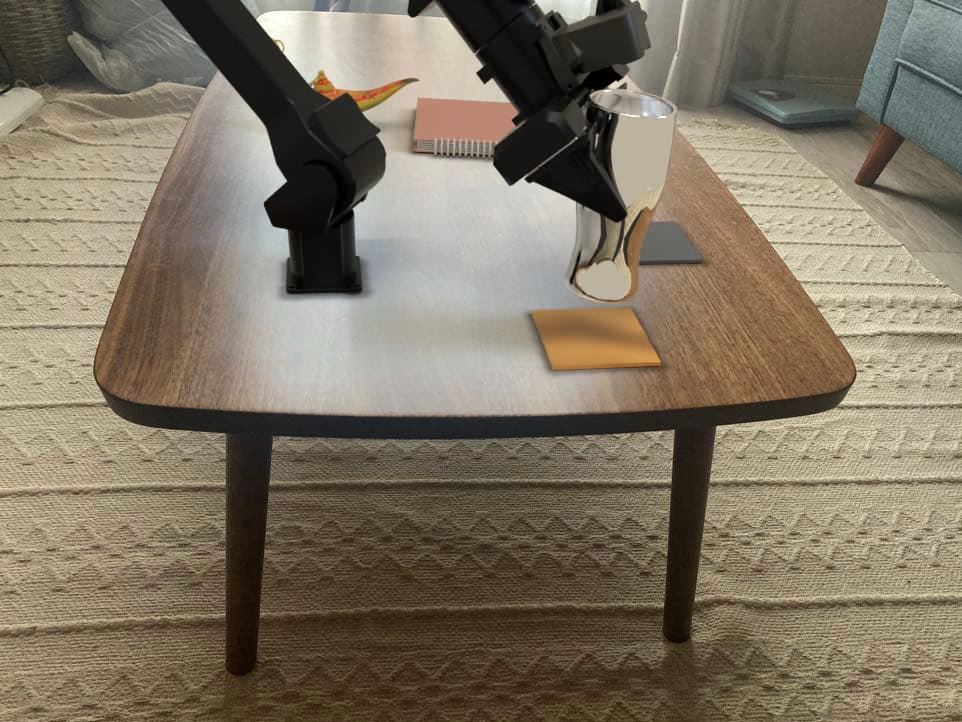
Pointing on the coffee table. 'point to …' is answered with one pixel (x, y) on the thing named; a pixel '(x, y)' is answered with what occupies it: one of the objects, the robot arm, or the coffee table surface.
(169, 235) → the coffee table surface
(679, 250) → the slate coaster
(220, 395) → the coffee table surface
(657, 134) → the beer glass
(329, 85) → the magic lamp
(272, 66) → the robot arm
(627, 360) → the honey coaster
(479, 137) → the notebook
